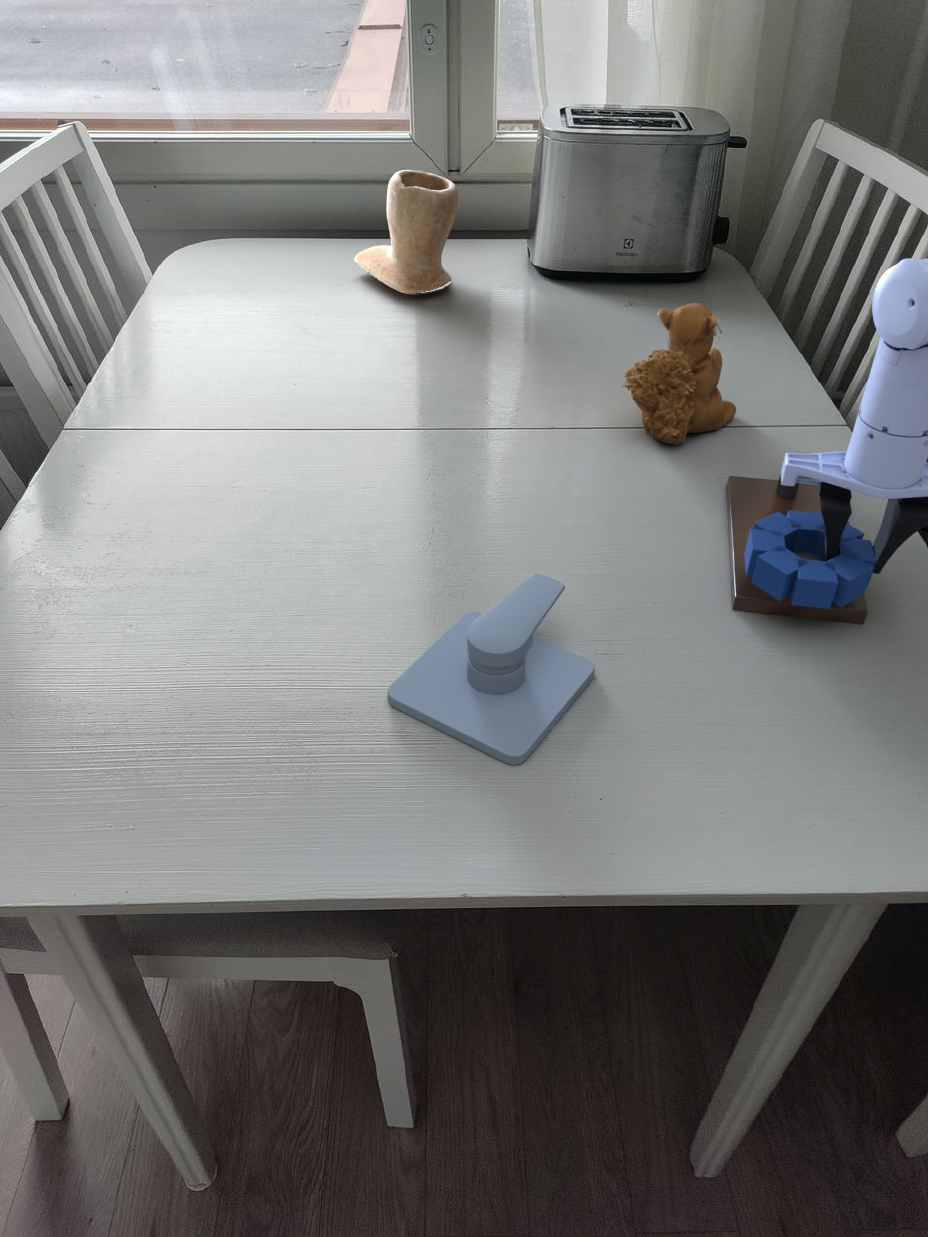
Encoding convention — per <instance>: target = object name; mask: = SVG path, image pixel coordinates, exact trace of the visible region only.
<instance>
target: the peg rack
mask: <svg viewBox="0 0 928 1237" xmlns="http://www.w3.org/2000/svg"><path fill="white" fill-rule="evenodd" d="M782 466H783V464H782ZM782 466H781V467H782ZM781 470H782V468H781V469H780V471H781ZM725 489H726V490H725V492H726V509H727V510H726V511H727V529H728V532H727V534H728V549H729V552H728V553H729V569H730V570H729V572H730V589H731V607H732V608H731V610H734V611H735V610H736V611H742V612H743V611H744V612H750V613H759V614H770V615H779V616H785V617H794V618H795V617H796V618H805V619H813V620H821V621H822V620H823V621H831V622H841V623H849V624H857V625H864V624H865V621H866V619H867V615H868V613H869V609H868V604H867V600H866V595H865V594H863V595H862V596H860V597H858V598H857V599H855V600H853V601H851V602H850V603H848V604H846V605H844V606H843V607H839V606H838V605H836V604H835V603H833V602H832V604H831V607H830V609H824V608H814V607H805V606H795V605H791V598H790V596H788V597H787V598H785V599H783V600H781V601H779V600H777V599H775V598H774V597H772V596H771V595H769V594H768V593H766V592H765V591H763V590H762V589H760V588H759V587H757V586H756V585H754V584H753V583H751V582H752V578H753V576H747V575H746V567H745V556H744V554H745V549H746V545H747V541H748V537H749V532H750V529H753V526H754V523H755V522H758V521H760V520H762V519H764V518H766V517H768V516H770V515H772V514H774V513H776V512H780V513H781V514H783V515H785V516H787V513H788V510H791V511H802V512H813V513H821V509H820V504H819V493H818V485H812V484H804V483H796V484H795V486H785V485H781V472H780V473H779V477H778V479H771V478H760V477H748V476H739V475H738V476H737V475H728V478H727V482H726V487H725ZM847 524H849V525H850V523H849V521H848V522H847ZM796 555H798V556H799V557H801V558H802V559H805V560H815V561H820V560H819V559H818V557H817V556H816V555H815V554H813V553H810V552H805V551H803V552H798V553H796Z"/></svg>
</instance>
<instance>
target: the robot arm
mask: <svg viewBox="0 0 928 1237" xmlns="http://www.w3.org/2000/svg"><path fill="white" fill-rule="evenodd" d="M871 306H872V307H871V310H872V312H871V313H872V319H873V323H874V326H875V329H876V331H877V333H878V336H879V337H880V338H879V341H878V345H877V348H876V352H875V354H874V357H873V361H872V365H871V368H870V372H869V375H868V378H867V382H866V385H865V388H864V392H863V395H862V399H861V402H860V405H859V409H858V413H857V416H856V420H855V423H854V426H853V430H852V434H851V437H850V440H849V443H848V447H847V450H843V451H828V452H827V451H825V452H811V453H810V452H809V453H808V452H807V453H799V452H798V453H797V452H785V455H784V459H783V463H782V465H783V466H781V469H782V470H781V469H780V473H781V485H785V486H795V484H796V483H804V484H812V485H818V493H819V504H820V509H821V513H822V517H823V520H824V525H825V541H824V549H823V561H825V562H827V561H828V560H830V559H832V558H834V557H836V556H837V552H838V547H839V543H840V539H841V536H842V534H843V531H844V529H845V526H846V524H847V522H849V520H850V518H851V516H852V514H853V510H852V502H851V501H852V498H853V495H852V491H853V492H856V493H860V494H861V495H862V494H863V495H866V496H869V497H874V498H879V499H887V503H886V505H885V509H884V513H883V517H882V521H881V524H880V526H879V529H878V531H877V534H876V536H875V539H874V541H873V543H872V546H873V550H874V554H875V557H876V563H875V565H874V570H873V573H872V574H876V575H880V574H881V572H882V571H883V569H884V567H885V566H886V564H887V563H888V562H889V561H890V559H891V558H892V556H893V555H894V554H895V553H896V552H897V550H899V548H901V546H903V544H904V543H905V542H907V540H908V539H910V538H911V537H912V536H913V535H914V534H916V533H917V532H919V531H920V530H921V529H924V528H925V527H926V526H927V525H928V461H927V460H928V258H921V259H919V258H904V259H901V260H900V261H899V262H898V263H897V264H895V265H893V266H891V267H890V268H888V269H887V270H886V271H885V272H884V273H883V274H882V275H881V277H880V278H879V280H878V282H877V284H876V286H875V289H874V292H873V297H872V305H871Z"/></svg>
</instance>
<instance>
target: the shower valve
mask: <svg viewBox="0 0 928 1237" xmlns="http://www.w3.org/2000/svg"><path fill="white" fill-rule="evenodd" d="M565 589H566V585H565V584H564V583H562V582H560V581H558V580H557V579H555V578H552V577H549V576H547V575H543V574H539V573H534V574H533V575H531V576H530V577H529V578H528V579H526V580H525V581H524V582H523V583H521V584H520V585H519V586H518V587H516V588H514V590H512V591H511V592H509V593H508V594H507V595H505V597H502V599H500V600H499V601H497V602H496V603H495V604H494V605H493V606H491V607H490V608H488V609H487V610H486V611H484V612H483V613H482V612H477V611H470V612H467V613H465V614H463V615H462V616H461V617H460V618H459V619H458V620H457V621H456V622H455V623H454V624H453V625H451V627H450V628H448V630H446V631H445V632H444V633H443V634H442V635H441V636H440V637H439V638H438V639H437V640H436V641H435V642H433V644H431V646H430V647H429V648H428V649H427V650H426V651H425V652H424V653H423V654H421V655H420V656H419V657H418V658H417V659H416V660H415V661H414V662H413V663H412V664H411V665H409V667H408V668H407V669H405V671H403V673H401V675H399V677H397V678H396V679H395V680H394V681H393V682H392V683H391V684H390V685H389V686H388V689H387V702H388V704H389V705H390V706H391V707H393V708H394V709H396V710H398V711H400V712H403V713H404V714H406V715H408V716H410V717H412V718H414V719H417V720H419V721H420V722H423V723H424V724H426V725H429V726H431V727H433V728H435V729H437V730H438V731H441V732H443V733H444V734H446V735H448V736H450V737H453V738H454V739H457V740H459V741H460V742H463V743H465V744H467V745H469V746H471V747H472V748H475V749H477V750H479V751H481V752H482V753H485V754H487V755H489V756H491V757H492V758H495V759H497V760H499V761H501V762H503V763H505V764H507V765H513V766H518V765H521V764H523V763H524V762H526V760H527V759H528V758H529V757H530V756H531V755H532V753H533V752H534V751H535V750H536V749H537V747H538V746H539V745H540V744H541V742H542V741H543V740H544V739H545V738H546V736H547V735H548V734H549V732H550V731H551V730H552V729H553V728H554V726H556V724H557V723H558V722H559V720H561V718H562V717H563V716H564V714H565V713H566V712H567V711H568V709H569V708H570V707H571V706H572V705H573V703H574V702H575V701H576V700H577V698H578V697H579V696H580V695H581V694H582V692H583V691H584V690H585V689H586V687H587V686H589V684H590V683H591V681H592V680H593V678H594V675H595V668H596V667H595V664H594V662H593V661H592V660H591V659H590V658H588V657H585V656H582V655H581V654H578V653H576V652H574V651H571V650H568V649H567V648H563V647H561V646H559V645H557V644H554V643H552V642H550V641H548V640H545V639H543V638H540V637H538V636H536V635H534V634H535V632H536V631H537V629H538V628H539V626H540V625H541V623H542V622H543V621H544V619H545V618H546V616H547V615H548V613H550V611H551V609H552V608H553V606H554V605H555V604H556V602H557V601H558V599H559V598H560V597H561V595H562V594H563V593H564V591H565Z"/></svg>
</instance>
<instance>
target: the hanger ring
mask: <svg viewBox="0 0 928 1237" xmlns="http://www.w3.org/2000/svg"><path fill="white" fill-rule="evenodd" d="M864 536H865V533H864V532H863V531H861V530H859V529H857V528H856V527H854V526H852V525H850V523H849V524H846V526H845V529H844V531H843V534H842V536H841V539H840V543H839V547H838V552H837V556H836V557H834V558H832V559H830V560H828V561H827V562H825V561H823V549H824V541H825V525H824V520H823V517H822V513H813V512H802V511H791V510H788V513H787V516H785V515H783V514H781V513H780V512H776V513H774V514H772V515H770V516H768V517H766V518H764V519H762V520H760V521H758V522H755V523H754V526H753V529H750V532H749V537H748V541H747V545H746V549H745V554H744V556H745V567H746V575H747V576H753V578H752V582H751V583H753V584H754V585H756V586H757V587H759V588H760V589H762V590H763V591H765V592H766V593H768V594H769V595H771V596H772V597H774V598H775V599H777V600H779V601H781V600H783V599H785V598H787V597H788V596H790V598H791V605H795V606H805V607H814V608H824V609H830V607H831V604H832V602H833V603H835V604H836V605H838V606H839V607H843V606H844V605H846V604H848V603H850V602H851V601H853V600H855V599H857V598H858V597H860V596H862V595H863V594H865V593H866V590H867V589H868V587H869V584H870V582H871V578H872V576H873V574H874V573H873V570H874V565H875V563H876V557H875V554H874V550H873V543H872V540H871V539H864ZM803 551H805V552H810V553H813V554H815V555H816V556H817V557H818V559H819V560H820V561H815V560H805V559H802V558H801V557H799V556H798V555H796V553H798V552H803Z"/></svg>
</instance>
